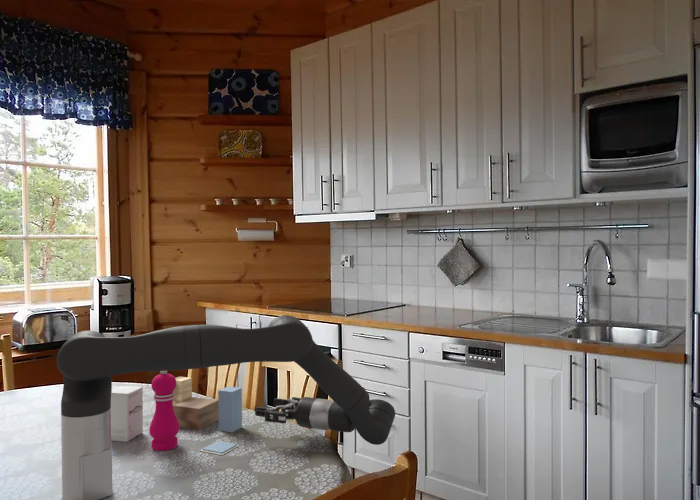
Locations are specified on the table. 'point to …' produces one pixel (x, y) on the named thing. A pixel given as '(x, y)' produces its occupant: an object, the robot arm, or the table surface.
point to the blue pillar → (230, 409)
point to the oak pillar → (182, 389)
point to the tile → (219, 448)
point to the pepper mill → (164, 413)
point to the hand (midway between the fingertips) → (265, 406)
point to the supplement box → (126, 413)
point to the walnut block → (196, 412)
